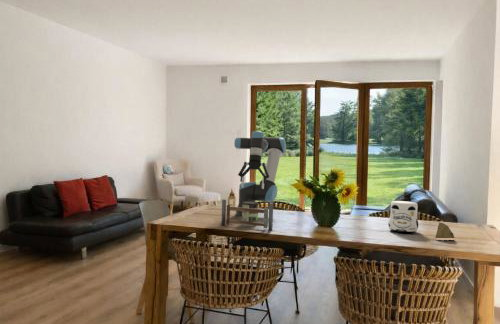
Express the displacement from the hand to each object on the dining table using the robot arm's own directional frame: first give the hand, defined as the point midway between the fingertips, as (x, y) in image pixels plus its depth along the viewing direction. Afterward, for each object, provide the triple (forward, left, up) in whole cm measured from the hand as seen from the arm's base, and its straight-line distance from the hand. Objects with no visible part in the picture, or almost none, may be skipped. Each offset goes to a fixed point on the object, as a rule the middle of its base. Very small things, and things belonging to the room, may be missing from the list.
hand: (252, 188), depth 269 cm
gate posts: (+14, +1, -23) cm, 27 cm away
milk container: (-19, +92, -23) cm, 97 cm away
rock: (-4, +114, -23) cm, 116 cm away
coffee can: (+3, 0, -23) cm, 23 cm away
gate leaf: (+14, +1, -22) cm, 26 cm away
